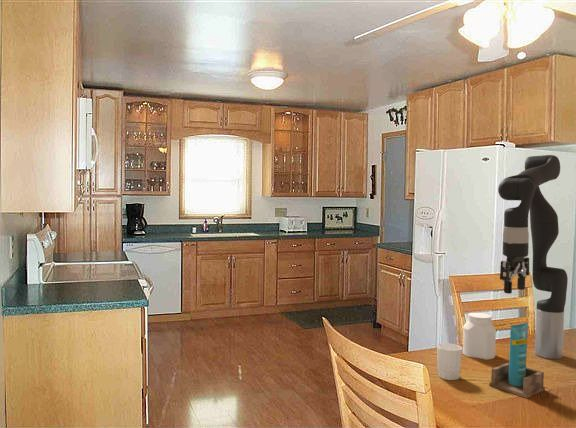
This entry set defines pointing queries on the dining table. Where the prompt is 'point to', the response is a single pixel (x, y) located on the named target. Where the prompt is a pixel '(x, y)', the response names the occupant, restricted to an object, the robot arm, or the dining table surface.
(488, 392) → the dining table surface
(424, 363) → the dining table surface
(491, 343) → the jar
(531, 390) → the u rest
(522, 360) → the tube
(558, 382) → the dining table surface
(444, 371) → the white cup
